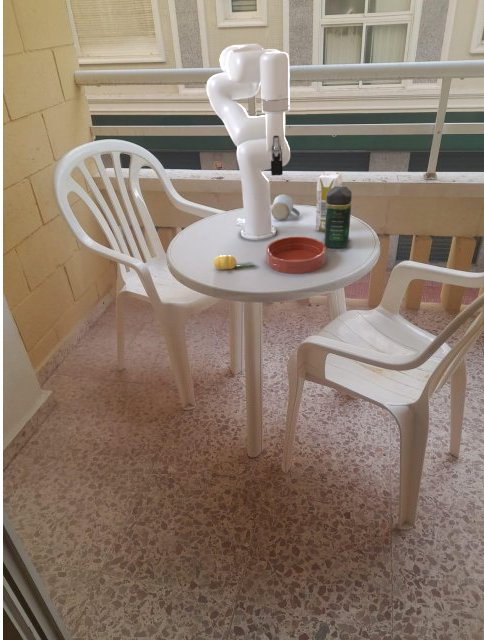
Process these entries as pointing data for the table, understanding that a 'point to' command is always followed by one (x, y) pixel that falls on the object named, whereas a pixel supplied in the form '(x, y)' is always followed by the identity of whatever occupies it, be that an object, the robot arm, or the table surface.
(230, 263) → the tulip
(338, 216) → the coffee jar
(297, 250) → the bowl
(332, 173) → the juice carton
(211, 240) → the table surface
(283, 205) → the ceramic mug
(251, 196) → the robot arm
